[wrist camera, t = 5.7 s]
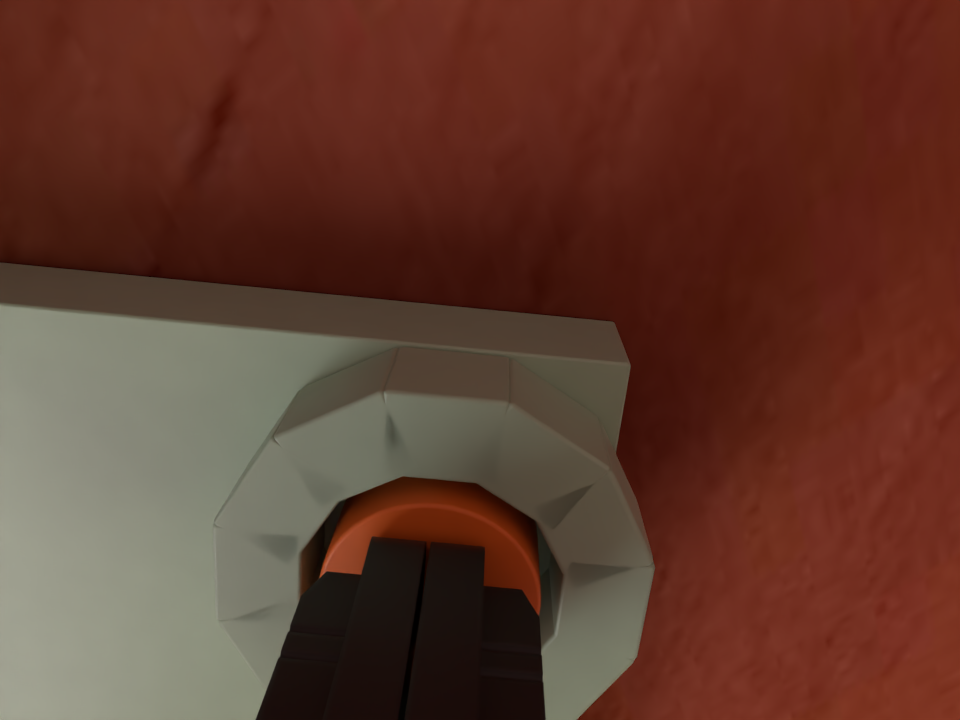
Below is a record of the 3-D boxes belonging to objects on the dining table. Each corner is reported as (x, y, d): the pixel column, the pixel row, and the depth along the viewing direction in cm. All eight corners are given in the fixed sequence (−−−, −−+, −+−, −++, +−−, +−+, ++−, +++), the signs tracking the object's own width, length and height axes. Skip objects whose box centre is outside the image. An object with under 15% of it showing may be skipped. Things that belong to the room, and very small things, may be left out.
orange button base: (642, 323, 13) (687, 415, 10) (541, 911, 18) (548, 1099, 15) (-124, 249, 13) (-332, 318, 10) (-13, 859, 18) (-125, 1037, 15)
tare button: (548, 458, 12) (553, 516, 10) (526, 625, 13) (528, 699, 11) (342, 438, 12) (319, 493, 10) (336, 607, 13) (315, 679, 11)
